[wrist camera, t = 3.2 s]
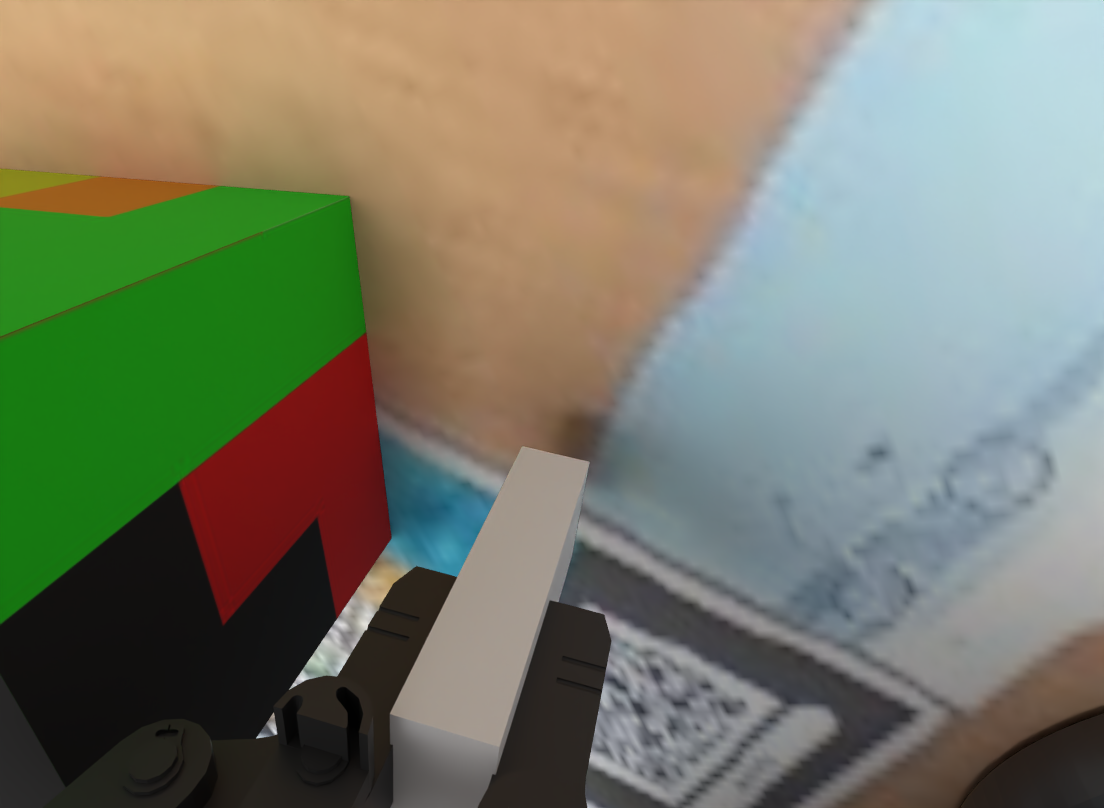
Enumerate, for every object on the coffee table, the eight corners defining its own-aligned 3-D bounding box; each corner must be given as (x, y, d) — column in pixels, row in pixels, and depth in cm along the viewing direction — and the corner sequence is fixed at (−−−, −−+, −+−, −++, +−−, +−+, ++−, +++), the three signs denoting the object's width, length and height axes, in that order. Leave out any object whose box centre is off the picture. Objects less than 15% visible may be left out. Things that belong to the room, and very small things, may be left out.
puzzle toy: (112, 485, 22) (-290, 773, 13) (-7, 167, 17) (-775, 295, 8) (392, 536, 20) (137, 912, 11) (351, 195, 15) (-158, 400, 6)
